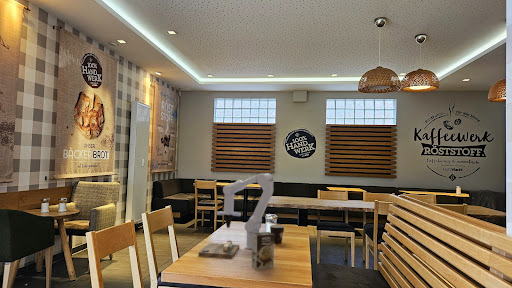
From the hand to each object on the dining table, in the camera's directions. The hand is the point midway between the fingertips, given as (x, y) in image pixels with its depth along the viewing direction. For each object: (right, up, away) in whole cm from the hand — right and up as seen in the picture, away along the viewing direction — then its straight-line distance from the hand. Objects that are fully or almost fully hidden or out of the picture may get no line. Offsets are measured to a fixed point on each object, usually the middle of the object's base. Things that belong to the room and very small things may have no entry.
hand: (228, 227), depth 211 cm
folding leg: (+1, -7, -19) cm, 21 cm away
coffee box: (+20, -9, -44) cm, 49 cm away
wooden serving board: (-3, -9, -20) cm, 22 cm away
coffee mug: (+31, -11, +5) cm, 33 cm away
